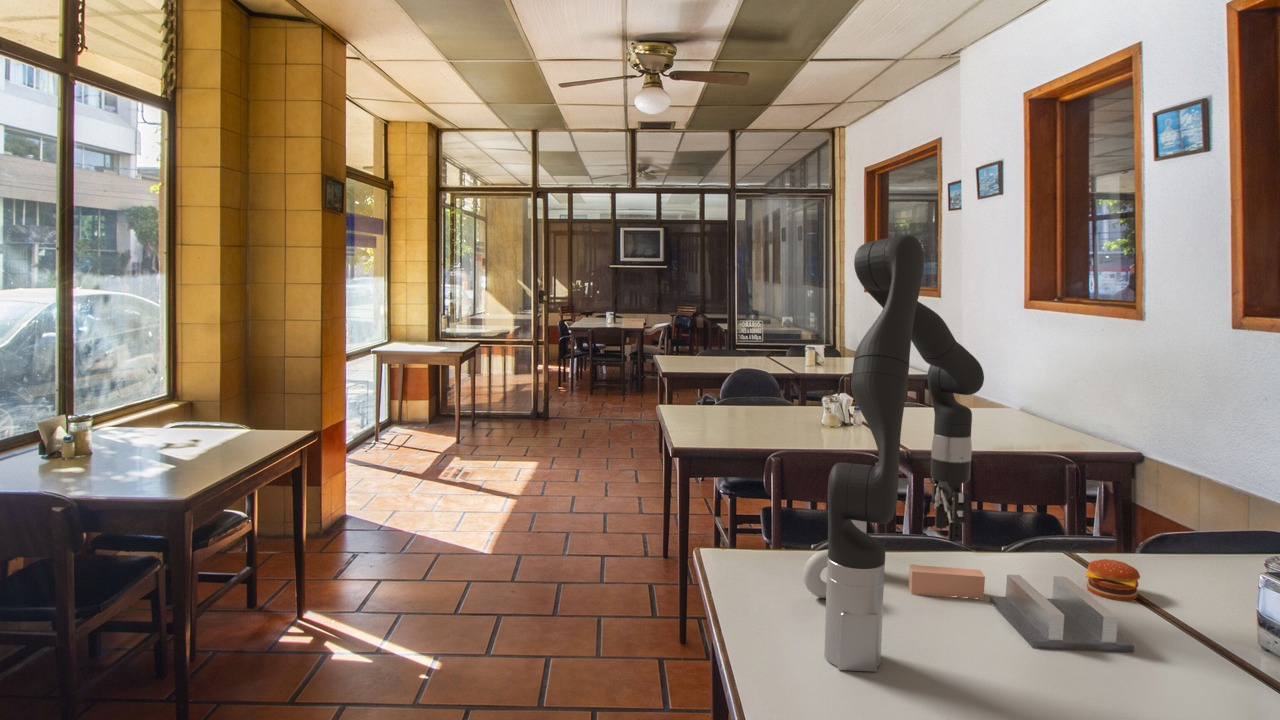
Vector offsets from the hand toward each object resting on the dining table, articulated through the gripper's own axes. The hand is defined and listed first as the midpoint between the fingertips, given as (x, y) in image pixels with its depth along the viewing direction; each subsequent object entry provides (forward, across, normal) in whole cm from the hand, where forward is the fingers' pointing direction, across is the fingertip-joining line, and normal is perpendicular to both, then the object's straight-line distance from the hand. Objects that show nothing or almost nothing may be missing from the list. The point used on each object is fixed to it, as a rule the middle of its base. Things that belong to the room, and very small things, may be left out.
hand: (947, 534), depth 161 cm
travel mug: (+13, +11, +17) cm, 24 cm away
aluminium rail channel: (+12, -14, -16) cm, 25 cm away
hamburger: (+13, +3, -35) cm, 38 cm away
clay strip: (+13, 0, 0) cm, 13 cm away
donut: (+12, -5, +25) cm, 28 cm away
